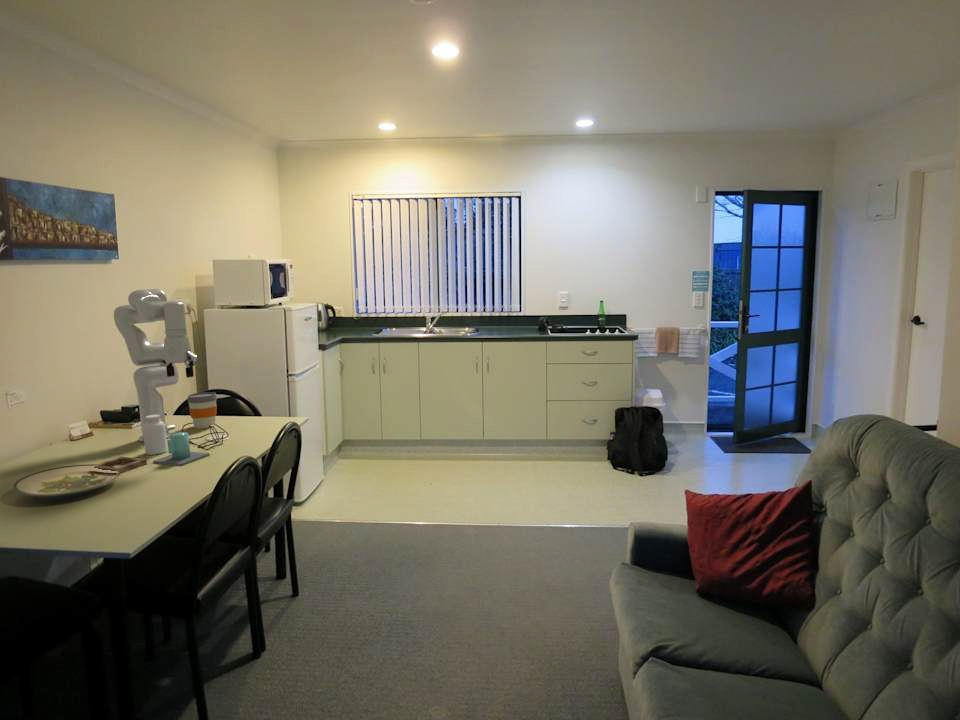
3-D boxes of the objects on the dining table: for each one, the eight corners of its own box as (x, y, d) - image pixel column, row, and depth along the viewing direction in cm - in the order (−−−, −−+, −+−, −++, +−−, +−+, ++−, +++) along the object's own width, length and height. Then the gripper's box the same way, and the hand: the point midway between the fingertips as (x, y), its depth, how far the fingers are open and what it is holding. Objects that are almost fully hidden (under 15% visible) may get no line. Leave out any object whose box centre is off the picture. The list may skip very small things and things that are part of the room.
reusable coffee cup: (206, 430, 294) (203, 397, 292) (184, 428, 298) (180, 396, 296) (224, 423, 306) (222, 392, 304) (202, 422, 310) (199, 391, 307)
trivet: (181, 452, 257) (181, 450, 257) (209, 455, 252) (209, 453, 252) (153, 463, 244) (152, 460, 244) (181, 465, 239) (181, 463, 239)
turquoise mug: (181, 454, 252) (178, 431, 251) (194, 455, 250) (191, 432, 249) (164, 460, 244) (161, 437, 243) (177, 461, 242) (174, 437, 241)
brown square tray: (121, 461, 248) (120, 456, 247) (146, 463, 243) (146, 459, 243) (90, 471, 236) (89, 466, 235) (116, 474, 231) (116, 469, 231)
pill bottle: (145, 456, 254) (141, 419, 252) (145, 451, 261) (141, 415, 259) (167, 453, 257) (164, 416, 255) (167, 448, 264) (163, 412, 262)
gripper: (151, 334, 253) (156, 377, 255) (186, 334, 247) (190, 379, 249) (167, 332, 260) (171, 374, 262) (200, 332, 254) (204, 375, 256)
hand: (180, 376), depth 256 cm, fingers open, 9 cm apart
